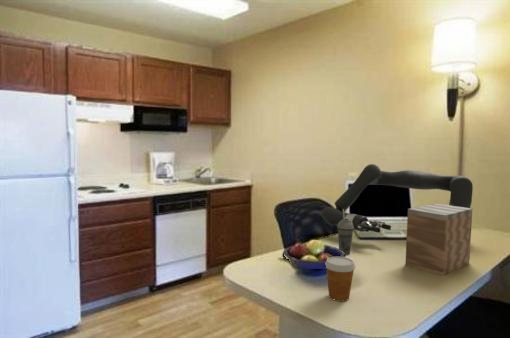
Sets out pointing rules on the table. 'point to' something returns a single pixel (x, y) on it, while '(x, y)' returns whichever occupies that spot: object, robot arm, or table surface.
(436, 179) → the robot arm
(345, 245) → the beverage cup
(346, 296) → the disposable coffee cup
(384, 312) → the table surface
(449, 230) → the under counter cubby
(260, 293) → the table surface
